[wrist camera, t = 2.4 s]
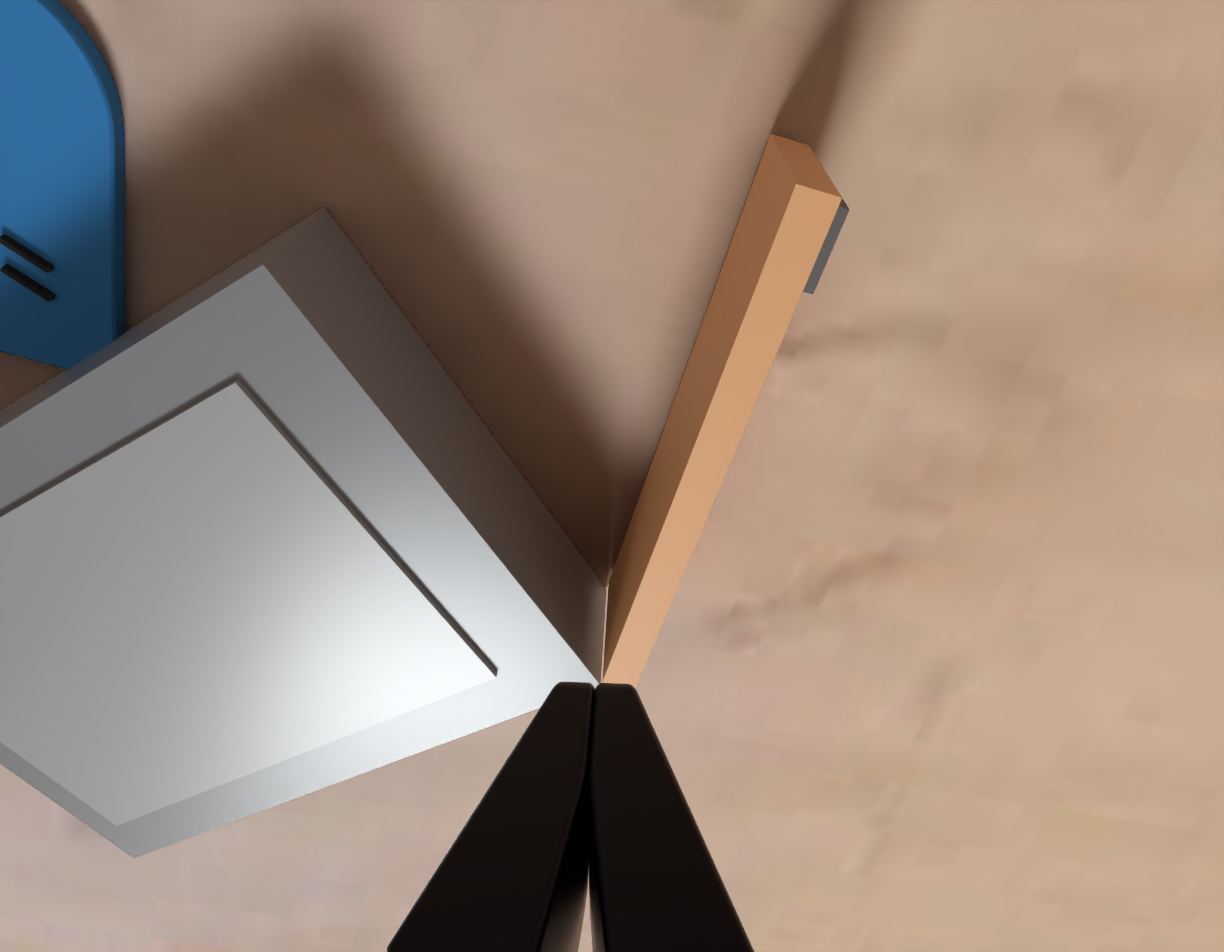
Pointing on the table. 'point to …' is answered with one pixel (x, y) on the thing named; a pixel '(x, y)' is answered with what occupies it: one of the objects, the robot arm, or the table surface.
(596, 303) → the table surface
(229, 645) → the case
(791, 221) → the case door
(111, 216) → the handheld gaming device
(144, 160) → the table surface
